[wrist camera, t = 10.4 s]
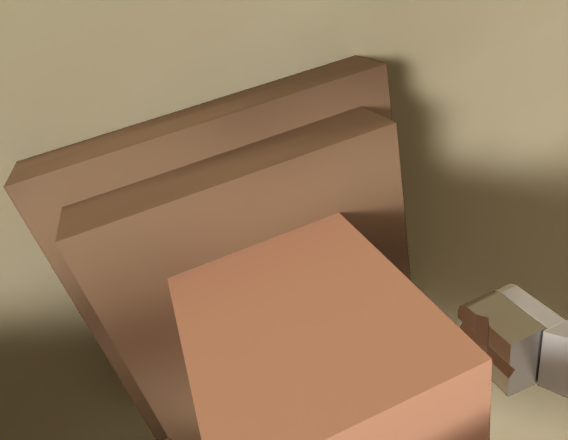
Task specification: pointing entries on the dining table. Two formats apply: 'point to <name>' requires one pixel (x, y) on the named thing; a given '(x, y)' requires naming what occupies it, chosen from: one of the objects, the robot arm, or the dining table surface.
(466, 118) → the dining table surface
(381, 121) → the plinth
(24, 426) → the dining table surface
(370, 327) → the block
